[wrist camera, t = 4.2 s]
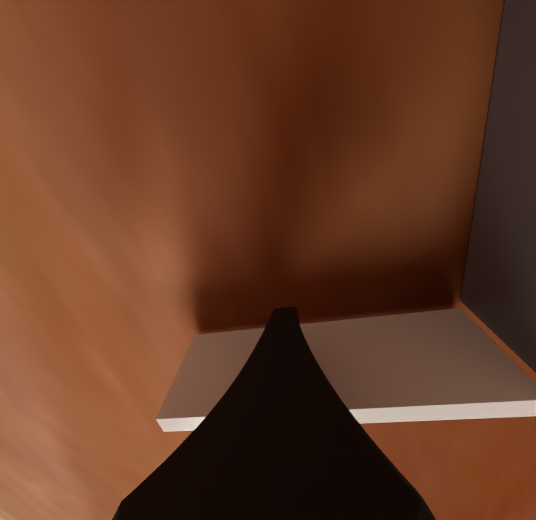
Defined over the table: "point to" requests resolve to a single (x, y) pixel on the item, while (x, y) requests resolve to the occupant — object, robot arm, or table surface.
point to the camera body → (508, 193)
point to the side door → (371, 370)
